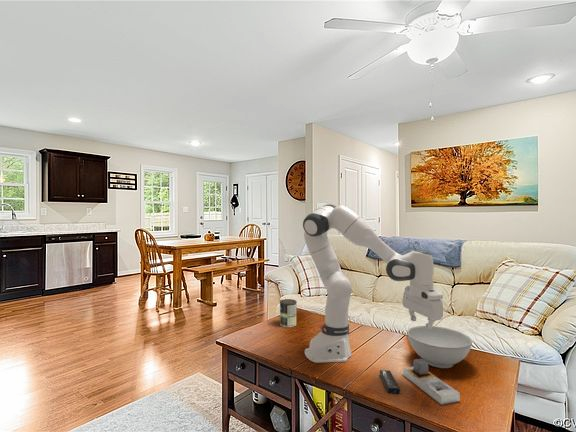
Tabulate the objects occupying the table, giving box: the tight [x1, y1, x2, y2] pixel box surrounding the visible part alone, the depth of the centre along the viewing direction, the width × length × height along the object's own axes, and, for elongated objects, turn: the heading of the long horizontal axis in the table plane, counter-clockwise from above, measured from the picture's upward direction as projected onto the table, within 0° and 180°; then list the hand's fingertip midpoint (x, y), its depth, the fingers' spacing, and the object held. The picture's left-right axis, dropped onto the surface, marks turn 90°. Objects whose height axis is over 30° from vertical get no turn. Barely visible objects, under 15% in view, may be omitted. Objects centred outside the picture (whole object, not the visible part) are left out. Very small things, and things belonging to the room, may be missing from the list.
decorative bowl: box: [406, 325, 473, 369], centre depth 149 cm, size 27×27×12 cm
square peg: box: [412, 357, 429, 377], centre depth 132 cm, size 4×4×8 cm
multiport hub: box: [379, 369, 401, 395], centre depth 130 cm, size 4×14×2 cm, turn 177°
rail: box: [402, 366, 461, 406], centre depth 127 cm, size 8×22×3 cm, turn 16°
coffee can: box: [279, 298, 298, 328], centre depth 199 cm, size 10×10×14 cm
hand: (420, 324), depth 132 cm, fingers open, 8 cm apart
